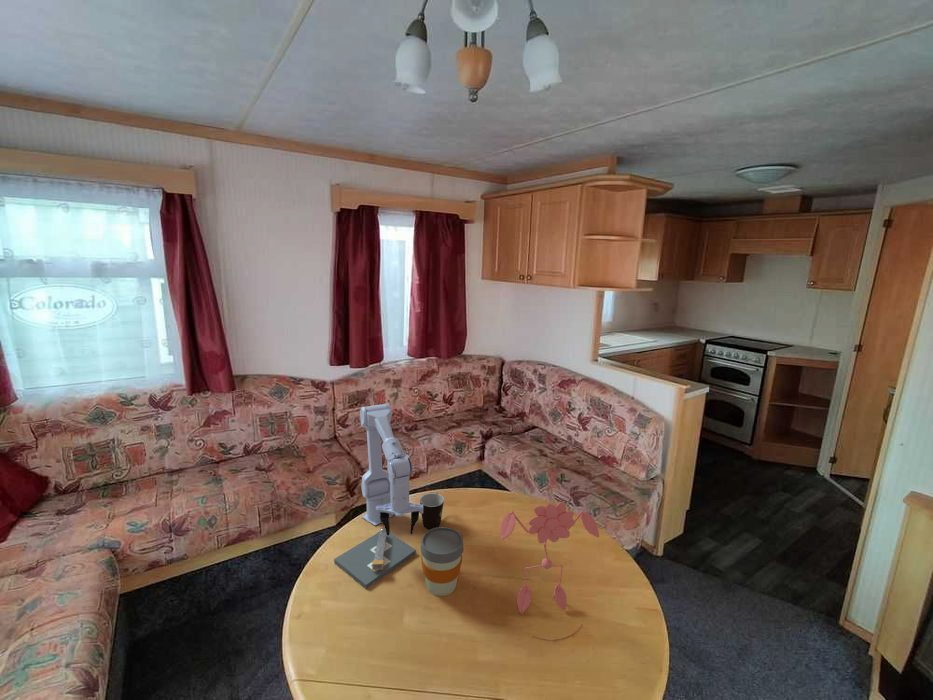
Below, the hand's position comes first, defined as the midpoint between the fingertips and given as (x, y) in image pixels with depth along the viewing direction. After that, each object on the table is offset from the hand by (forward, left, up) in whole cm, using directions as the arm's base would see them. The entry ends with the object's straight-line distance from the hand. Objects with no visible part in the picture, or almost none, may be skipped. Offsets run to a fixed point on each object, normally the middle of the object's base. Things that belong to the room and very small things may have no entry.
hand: (399, 532), depth 132 cm
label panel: (+5, -6, -9) cm, 12 cm away
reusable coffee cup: (-1, +17, -10) cm, 20 cm away
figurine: (-11, +46, -10) cm, 48 cm away
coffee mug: (-21, -5, -10) cm, 24 cm away
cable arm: (+4, -5, -7) cm, 10 cm away
